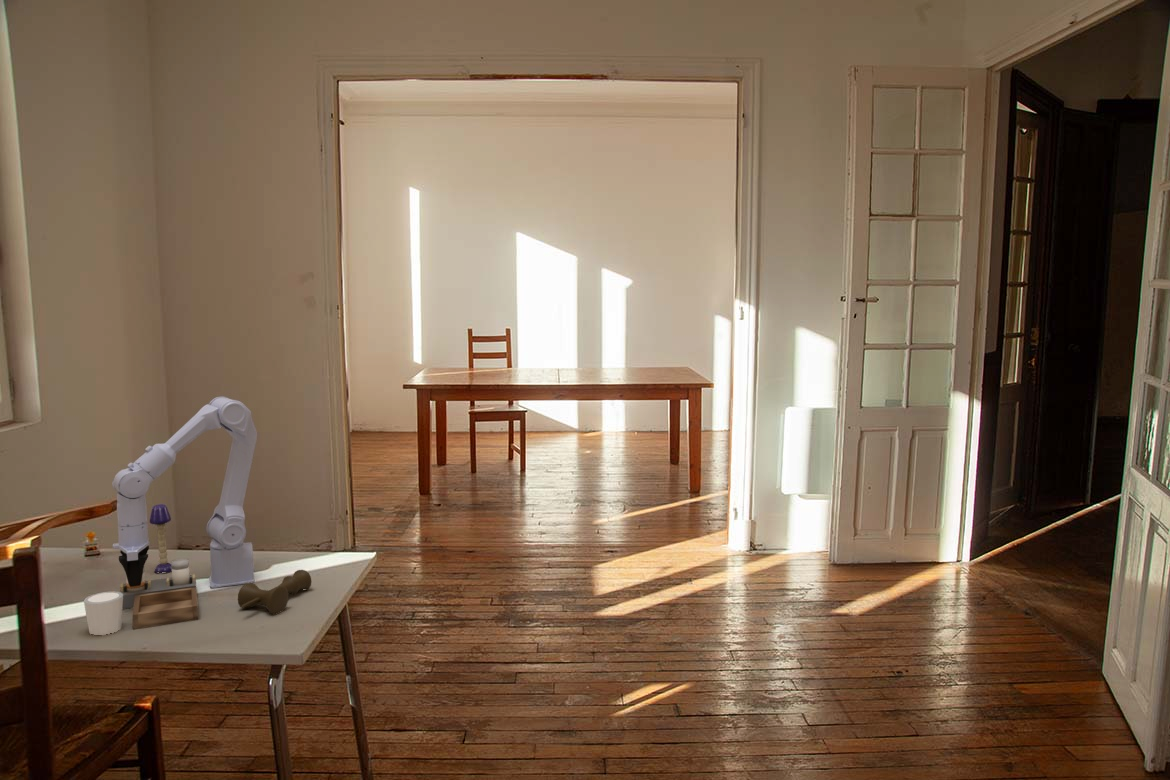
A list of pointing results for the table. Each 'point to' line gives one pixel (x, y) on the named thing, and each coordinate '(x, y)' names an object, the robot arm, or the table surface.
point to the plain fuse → (180, 572)
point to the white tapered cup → (104, 612)
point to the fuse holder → (153, 589)
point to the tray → (165, 607)
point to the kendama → (274, 592)
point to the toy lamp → (161, 535)
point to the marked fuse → (136, 588)
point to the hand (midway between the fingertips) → (135, 582)
